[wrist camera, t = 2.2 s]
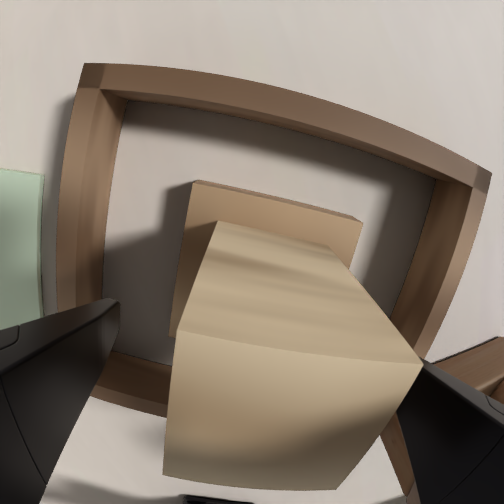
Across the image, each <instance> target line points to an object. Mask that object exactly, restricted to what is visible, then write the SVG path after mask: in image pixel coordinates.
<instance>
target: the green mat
mask: <svg viewBox="0 0 504 504" xmlns="http://www.w3.org/2000/svg"><path fill="white" fill-rule="evenodd" d="M43 185H44V175H42V174H36V173H29V172H23V171H16V170H9V169H2V168H0V330H2V329H6V328H9V327H12V326H16V325H19V326H20V324H22V323H26V322H29V321H32V320H36V319H39V318H42V317H44V314H43V302H42V287H41V254H40V245H41V212H42V197H43Z"/></svg>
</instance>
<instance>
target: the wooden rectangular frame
mask: <svg viewBox="0 0 504 504" xmlns="http://www.w3.org/2000/svg"><path fill="white" fill-rule="evenodd" d="M128 100H131V101H140V102H149V103H157V104H165V105H172V106H179V107H185V108H192V109H198V110H203V111H209V112H215V113H220V114H225V115H230V116H235V117H240V118H244V119H249V120H254V121H258V122H262V123H267V124H271V125H275V126H279V127H283V128H287V129H291V130H294V131H298V132H302V133H305V134H309V135H313V136H316V137H319V138H323V139H326V140H330V141H333V142H336V143H339V144H343V145H346V146H349V147H352V148H355V149H358V150H361V151H364V152H367V153H370V154H373V155H375V156H378V157H381V158H384V159H387V160H389V161H392V162H395V163H397V164H400V165H403V166H405V167H408V168H410V169H413V170H415V171H418V172H420V173H423V174H425V175H427V176H430V177H432V178H435V179H436V183H435V187H434V191H433V195H432V199H431V202H430V206H429V209H428V213H427V216H426V220H425V223H424V226H423V230H422V233H421V236H420V239H419V242H418V245H417V248H416V251H415V254H414V257H413V260H412V263H411V265H410V268H409V271H408V274H407V276H406V279H405V282H404V284H403V287H402V290H401V292H400V295H399V297H398V300H397V302H396V305H395V307H394V309H393V312H392V314H391V317H390V319H389V320H390V321H391V322H392V324H393V325H394V326H395V327H396V329H397V330H398V331H399V332H400V334H401V335H402V336H403V338H404V339H405V340H406V341H407V343H408V344H409V345H410V347H411V348H412V349H413V351H414V352H415V353H416V355H417V356H419V357H421V358H423V359H424V358H425V356H426V354H427V352H428V350H429V349H430V347H431V345H432V343H433V341H434V339H435V337H436V335H437V332H438V330H439V328H440V326H441V324H442V322H443V320H444V318H445V315H446V313H447V311H448V309H449V306H450V304H451V302H452V299H453V297H454V294H455V292H456V290H457V287H458V285H459V282H460V279H461V277H462V274H463V272H464V269H465V266H466V263H467V261H468V258H469V255H470V252H471V249H472V246H473V243H474V240H475V237H476V233H477V230H478V227H479V223H480V220H481V216H482V213H483V209H484V205H485V201H486V197H487V193H488V189H489V185H490V180H491V176H492V173H491V172H489V171H488V170H486V169H484V168H482V167H481V166H479V165H477V164H475V163H473V162H472V161H470V160H468V159H466V158H464V157H462V156H460V155H458V154H456V153H454V152H452V151H451V150H449V149H447V148H444V147H442V146H440V145H438V144H436V143H434V142H432V141H430V140H428V139H426V138H423V137H421V136H419V135H417V134H414V133H412V132H410V131H408V130H405V129H403V128H400V127H398V126H396V125H393V124H391V123H388V122H386V121H383V120H381V119H378V118H375V117H373V116H370V115H367V114H365V113H362V112H359V111H356V110H353V109H350V108H348V107H345V106H342V105H339V104H335V103H332V102H329V101H326V100H323V99H319V98H316V97H313V96H309V95H306V94H302V93H299V92H295V91H291V90H287V89H283V88H279V87H275V86H271V85H267V84H263V83H258V82H254V81H249V80H244V79H239V78H234V77H229V76H223V75H218V74H212V73H205V72H199V71H192V70H184V69H176V68H167V67H157V66H146V65H131V64H109V63H84V66H83V69H82V73H81V76H80V80H79V84H78V88H77V92H76V96H75V100H74V104H73V109H72V114H71V118H70V123H69V129H68V134H67V140H66V146H65V152H64V159H63V166H62V174H61V183H60V192H59V204H58V218H57V239H56V287H57V308H58V313H59V312H62V311H65V310H69V309H72V308H75V307H78V306H82V305H85V304H88V303H92V302H95V301H98V300H101V299H102V276H103V258H104V245H105V233H106V223H107V214H108V205H109V197H110V190H111V183H112V176H113V170H114V164H115V158H116V153H117V147H118V142H119V137H120V132H121V127H122V122H123V118H124V113H125V109H126V105H127V101H128ZM218 221H222V222H227V223H231V224H236V225H241V226H245V227H250V228H254V229H259V230H263V231H268V232H272V233H277V234H281V235H286V236H290V237H294V238H299V239H303V240H307V241H312V242H316V243H320V244H325V245H328V246H329V248H330V249H331V250H332V251H333V252H334V253H335V254H336V256H337V257H338V258H339V259H340V260H341V261H342V263H343V264H344V265H345V266H346V267H347V269H348V270H349V267H350V264H351V261H352V258H353V255H354V252H355V249H356V245H357V242H358V239H359V236H360V233H361V229H362V226H363V223H362V222H361V221H359V220H357V219H356V218H354V217H353V216H350V215H346V214H342V213H339V212H335V211H331V210H327V209H323V208H320V207H316V206H312V205H308V204H304V203H300V202H296V201H292V200H288V199H284V198H279V197H275V196H271V195H267V194H262V193H258V192H254V191H249V190H245V189H240V188H236V187H231V186H226V185H222V184H217V183H212V182H207V181H202V180H197V181H195V182H194V183H193V185H192V190H191V195H190V200H189V206H188V211H187V216H186V222H185V227H184V233H183V239H182V245H181V251H180V257H179V263H178V269H177V276H176V282H175V289H174V296H173V303H172V311H171V318H170V326H169V334H168V337H172V338H176V334H177V329H178V326H179V323H180V320H181V317H182V315H183V312H184V309H185V306H186V304H187V301H188V298H189V295H190V293H191V290H192V287H193V284H194V282H195V279H196V276H197V274H198V271H199V268H200V266H201V263H202V261H203V258H204V255H205V253H206V250H207V248H208V245H209V242H210V240H211V237H212V235H213V232H214V230H215V227H216V224H217V222H218ZM171 374H172V366H168V365H163V364H159V363H155V362H151V361H147V360H143V359H140V358H136V357H132V356H129V355H125V354H121V353H118V352H115V351H110V354H109V356H108V359H107V362H106V364H105V367H104V369H103V371H102V373H101V375H100V377H99V379H98V381H97V383H96V385H95V387H94V388H93V390H92V392H91V394H90V396H92V397H95V398H98V399H101V400H104V401H107V402H110V403H113V404H117V405H120V406H123V407H127V408H130V409H134V410H137V411H141V412H145V413H149V414H153V415H157V416H161V417H165V418H167V411H168V401H169V392H170V383H171Z"/></svg>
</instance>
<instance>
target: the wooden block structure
mask: <svg viewBox="0 0 504 504" xmlns="http://www.w3.org/2000/svg"><path fill="white" fill-rule="evenodd" d="M433 365H435V366H436V367H438V368H440V369H442V370H443V371H445V372H447V373H449V374H450V375H452V376H454V377H456V378H457V379H459V380H461V381H463V382H464V383H466V384H468V385H470V386H471V387H473V388H475V389H477V390H478V391H480V392H482V393H484V394H485V395H487V396H489V397H491V398H492V399H494V400H496V401H498V402H500V403H501V404H503V405H504V337H499V338H496V339H494V340H492V341H490V342H488V343H485V344H483V345H481V346H479V347H476V348H474V349H472V350H469V351H467V352H464V353H462V354H460V355H457V356H455V357H452V358H449V359H447V360H444V361H442V362H439V363H436V364H433ZM380 437H381V439H382V441H383V444H384V446H385V449H386V451H387V453H388V456H389V458H390V461H391V463H392V466H393V468H394V470H395V473H396V475H397V478H398V480H399V483H400V486H401V488H402V491H403V493H404V494H405V495H406V496H408V497H407V500H406V501H407V504H420V500H419V495H418V491H417V487H416V483H415V479H414V475H413V471H412V467H411V463H410V460H409V456H408V452H407V449H406V445H405V442H404V438H403V435H402V431H401V428H400V425H399V421H398V418H397V414H396V411H395V413H394V414H393V416H392V417H391V419H390V420H389V422H388V423H387V425H386V426H385V428H384V429H383V431H382V432H381V433H380Z"/></svg>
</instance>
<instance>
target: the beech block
mask: <svg viewBox="0 0 504 504" xmlns="http://www.w3.org/2000/svg"><path fill="white" fill-rule="evenodd" d="M423 365H424V364H423V363H422V361H421V360H420V359H419V357H418V356H417V355H416V353H415V352H414V351H413V349H412V348H411V347H410V345H409V344H408V343H407V341H406V340H405V339H404V338H403V336H402V335H401V334H400V332H399V331H398V330H397V329H396V327H395V326H394V325H393V324H392V322H391V321H390V320H389V318H388V317H387V316H386V315H385V313H384V312H383V311H382V310H381V308H380V307H379V306H378V305H377V304H376V302H375V301H374V300H373V299H372V297H371V296H370V295H369V294H368V292H367V291H366V290H365V289H364V288H363V286H362V285H361V284H360V283H359V282H358V280H357V279H356V278H355V277H354V276H353V274H352V273H351V272H350V271H349V270H348V269H347V267H346V266H345V265H344V264H343V263H342V261H341V260H340V259H339V258H338V257H337V256H336V254H335V253H334V252H333V251H332V250H331V249H330V248H329V246H328V245H325V244H320V243H316V242H312V241H307V240H303V239H299V238H294V237H290V236H286V235H281V234H277V233H272V232H268V231H263V230H259V229H254V228H250V227H245V226H241V225H236V224H231V223H227V222H222V221H218V222H217V224H216V227H215V230H214V232H213V235H212V237H211V240H210V242H209V245H208V248H207V250H206V253H205V255H204V258H203V261H202V263H201V266H200V268H199V271H198V274H197V276H196V279H195V282H194V284H193V287H192V290H191V293H190V295H189V298H188V301H187V304H186V306H185V309H184V312H183V315H182V317H181V320H180V323H179V326H178V329H177V334H176V342H175V350H174V357H173V366H172V374H171V383H170V392H169V401H168V411H167V422H166V434H165V446H164V460H163V475H165V476H170V477H174V478H179V479H185V480H190V481H196V482H202V483H208V484H215V485H222V486H231V487H240V488H251V489H266V490H294V491H310V490H336V489H337V488H338V487H339V486H340V484H341V483H342V482H343V481H344V480H345V479H346V477H347V476H348V475H349V474H350V473H351V471H352V470H353V469H354V468H355V466H356V465H357V464H358V463H359V461H360V460H361V459H362V458H363V456H364V455H365V454H366V452H367V451H368V450H369V449H370V447H371V446H372V444H373V443H374V442H375V440H376V439H377V438H378V436H379V435H380V433H381V432H382V431H383V429H384V428H385V426H386V425H387V423H388V422H389V420H390V419H391V417H392V416H393V414H394V413H395V411H396V410H397V408H398V407H399V405H400V404H401V402H402V401H403V399H404V397H405V396H406V394H407V392H408V391H409V389H410V387H411V386H412V384H413V382H414V381H415V379H416V377H417V375H418V374H419V372H420V370H421V368H422V367H423Z"/></svg>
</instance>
